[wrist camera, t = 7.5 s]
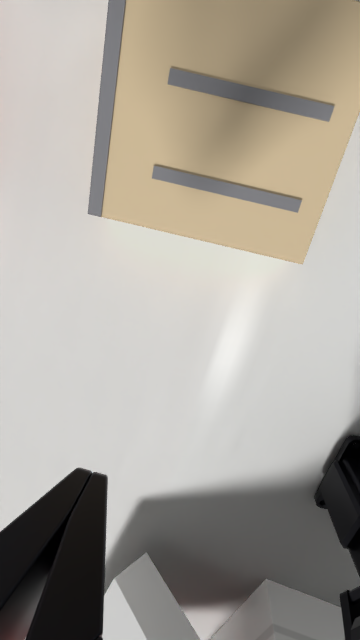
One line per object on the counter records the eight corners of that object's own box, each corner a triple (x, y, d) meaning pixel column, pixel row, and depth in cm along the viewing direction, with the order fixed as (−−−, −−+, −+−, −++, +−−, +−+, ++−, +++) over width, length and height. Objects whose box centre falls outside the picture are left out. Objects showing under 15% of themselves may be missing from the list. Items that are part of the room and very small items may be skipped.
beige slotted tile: (358, 50, 13) (399, 8, 10) (287, 253, 17) (303, 264, 14) (134, -2, 13) (114, -58, 10) (108, 211, 17) (87, 214, 14)
